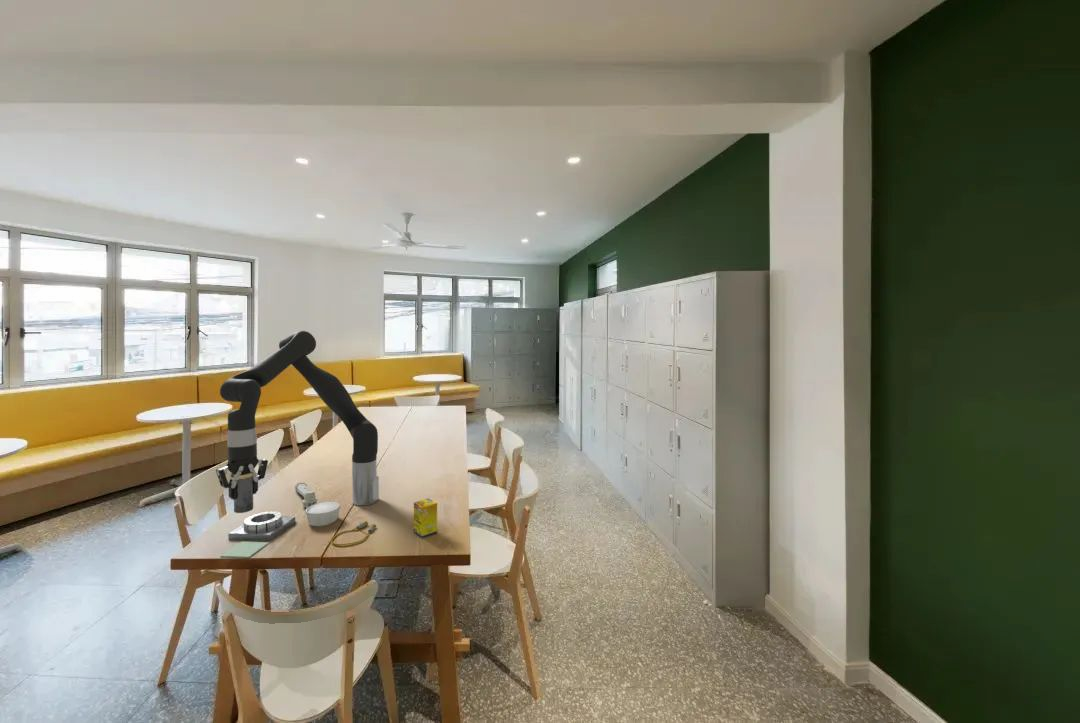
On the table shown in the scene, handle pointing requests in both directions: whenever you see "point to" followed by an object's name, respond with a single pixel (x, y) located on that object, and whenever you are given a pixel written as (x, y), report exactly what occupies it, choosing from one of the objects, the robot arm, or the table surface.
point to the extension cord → (355, 530)
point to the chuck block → (262, 526)
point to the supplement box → (425, 517)
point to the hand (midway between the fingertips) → (243, 496)
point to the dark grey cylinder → (244, 493)
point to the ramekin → (322, 513)
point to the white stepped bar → (306, 495)
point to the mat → (244, 549)
